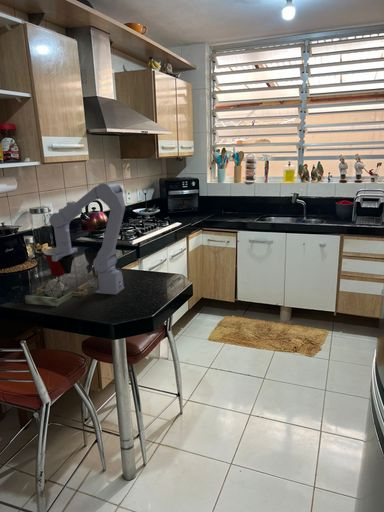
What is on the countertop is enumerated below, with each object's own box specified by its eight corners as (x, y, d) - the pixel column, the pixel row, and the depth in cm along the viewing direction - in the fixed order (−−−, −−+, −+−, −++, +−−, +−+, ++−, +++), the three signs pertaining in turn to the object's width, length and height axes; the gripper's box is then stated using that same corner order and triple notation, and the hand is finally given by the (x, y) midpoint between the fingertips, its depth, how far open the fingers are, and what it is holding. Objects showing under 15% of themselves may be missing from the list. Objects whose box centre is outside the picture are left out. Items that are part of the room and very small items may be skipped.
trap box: (97, 286, 159) (96, 280, 159) (66, 307, 139) (65, 299, 138) (53, 283, 166) (52, 277, 165) (17, 302, 146) (16, 295, 145)
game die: (56, 304, 152) (58, 281, 155) (70, 300, 147) (71, 276, 151) (37, 301, 145) (39, 276, 148) (51, 296, 140) (52, 271, 144)
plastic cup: (51, 279, 171) (48, 254, 168) (43, 274, 179) (39, 250, 176) (74, 274, 178) (71, 249, 175) (65, 269, 186) (61, 246, 183)
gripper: (65, 237, 161) (69, 267, 165) (43, 245, 148) (48, 278, 152) (79, 237, 159) (83, 268, 163) (58, 245, 146) (63, 279, 149)
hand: (67, 273), depth 157 cm, fingers closed
